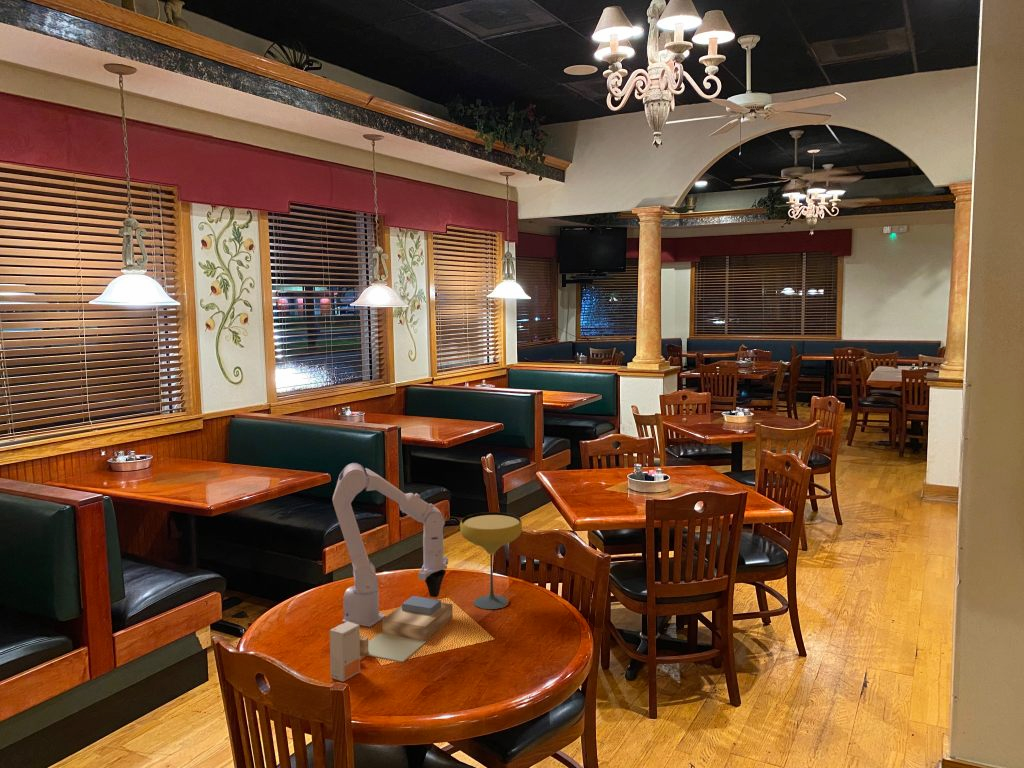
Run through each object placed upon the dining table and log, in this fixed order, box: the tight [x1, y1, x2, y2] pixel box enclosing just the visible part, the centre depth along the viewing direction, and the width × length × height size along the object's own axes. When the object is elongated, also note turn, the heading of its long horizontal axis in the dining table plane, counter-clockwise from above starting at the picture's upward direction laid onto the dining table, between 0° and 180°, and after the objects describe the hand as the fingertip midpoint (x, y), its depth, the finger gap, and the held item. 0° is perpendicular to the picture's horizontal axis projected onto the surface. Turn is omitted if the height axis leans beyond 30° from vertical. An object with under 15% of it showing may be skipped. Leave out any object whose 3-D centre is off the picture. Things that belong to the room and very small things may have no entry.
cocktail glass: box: [459, 511, 523, 610], centre depth 224 cm, size 18×18×25 cm
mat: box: [367, 632, 427, 663], centre depth 197 cm, size 14×12×1 cm
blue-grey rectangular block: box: [401, 595, 442, 615], centre depth 211 cm, size 9×6×2 cm, turn 68°
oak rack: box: [360, 636, 369, 661], centre depth 191 cm, size 5×6×4 cm
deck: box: [381, 602, 454, 642], centre depth 210 cm, size 13×16×4 cm
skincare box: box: [329, 621, 361, 683], centre depth 182 cm, size 6×4×12 cm
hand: (434, 596), depth 218 cm, fingers closed
